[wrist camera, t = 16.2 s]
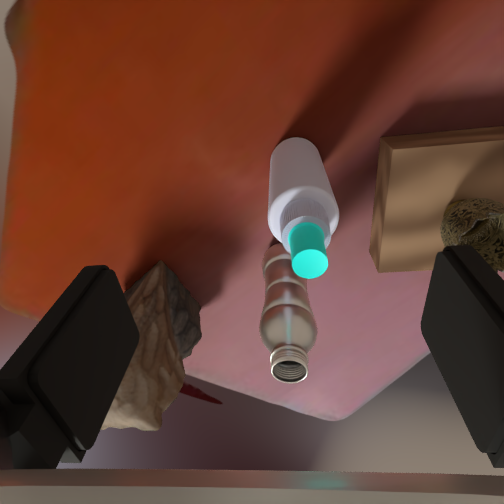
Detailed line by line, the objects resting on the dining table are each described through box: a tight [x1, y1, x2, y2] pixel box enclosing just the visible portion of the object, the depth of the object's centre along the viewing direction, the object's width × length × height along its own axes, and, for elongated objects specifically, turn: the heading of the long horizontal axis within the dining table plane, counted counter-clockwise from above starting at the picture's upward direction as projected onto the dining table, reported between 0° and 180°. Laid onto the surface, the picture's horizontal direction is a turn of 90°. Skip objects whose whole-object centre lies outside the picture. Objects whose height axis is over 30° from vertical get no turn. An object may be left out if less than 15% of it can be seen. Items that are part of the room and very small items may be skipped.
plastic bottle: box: [259, 243, 318, 383], centre depth 41 cm, size 6×7×20 cm
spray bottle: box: [268, 137, 339, 279], centre depth 32 cm, size 6×6×22 cm
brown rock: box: [100, 260, 202, 431], centre depth 47 cm, size 13×13×20 cm
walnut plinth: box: [369, 126, 504, 273], centre depth 41 cm, size 16×16×5 cm
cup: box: [440, 198, 504, 273], centre depth 35 cm, size 8×7×8 cm
